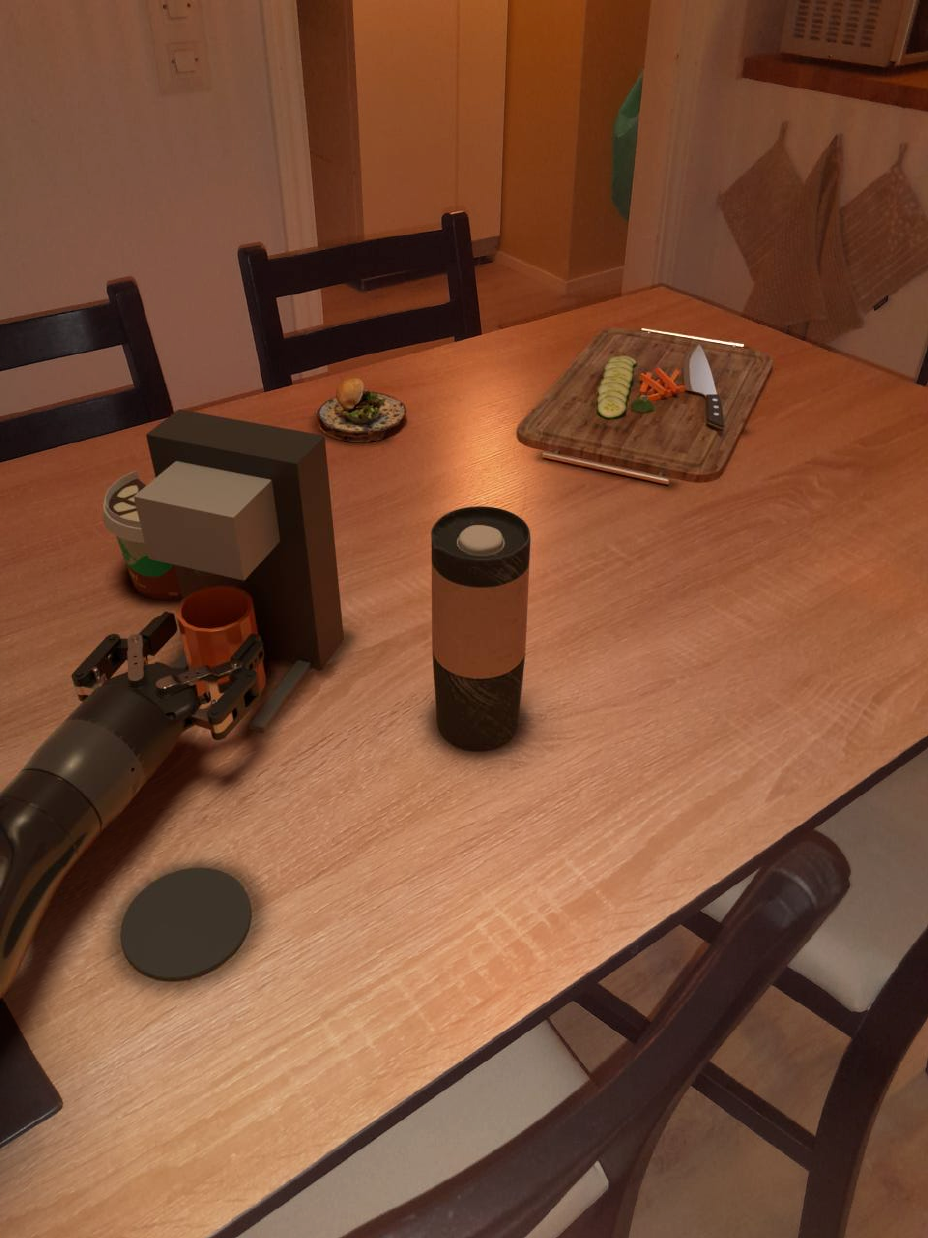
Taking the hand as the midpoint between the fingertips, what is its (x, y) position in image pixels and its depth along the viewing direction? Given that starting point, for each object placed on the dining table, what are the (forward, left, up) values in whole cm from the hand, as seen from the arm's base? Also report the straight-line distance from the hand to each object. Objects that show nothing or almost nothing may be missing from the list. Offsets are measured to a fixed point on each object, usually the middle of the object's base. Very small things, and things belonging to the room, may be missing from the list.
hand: (214, 630), depth 84 cm
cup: (0, +1, -7) cm, 7 cm away
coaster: (+14, -20, -7) cm, 25 cm away
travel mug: (+22, +8, -7) cm, 24 cm away
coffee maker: (-1, +3, -7) cm, 8 cm away
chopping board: (+12, +76, -7) cm, 77 cm away
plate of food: (-19, +50, -7) cm, 54 cm away
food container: (-17, +9, -7) cm, 21 cm away
